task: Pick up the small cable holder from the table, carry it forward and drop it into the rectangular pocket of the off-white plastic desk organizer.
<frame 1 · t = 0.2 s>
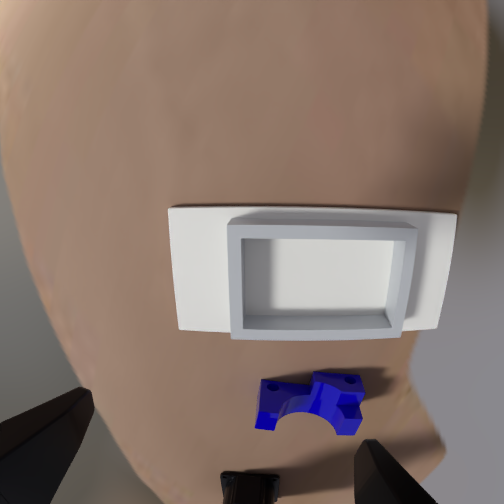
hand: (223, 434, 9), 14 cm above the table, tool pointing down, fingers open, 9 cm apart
desk organizer: (318, 272, 22), on the table
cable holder: (308, 384, 25), on the table
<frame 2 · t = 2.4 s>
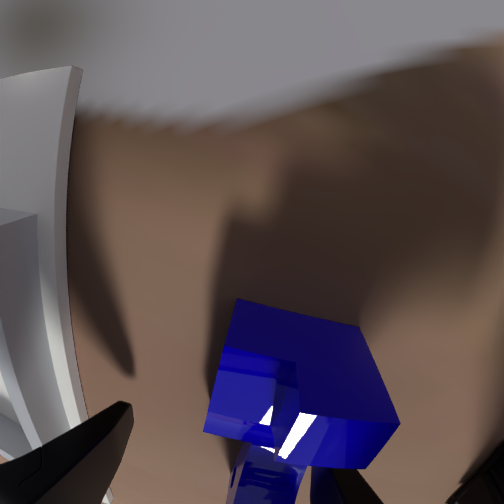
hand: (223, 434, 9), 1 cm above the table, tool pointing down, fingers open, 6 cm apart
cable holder: (262, 408, 10), on the table, touching gripper
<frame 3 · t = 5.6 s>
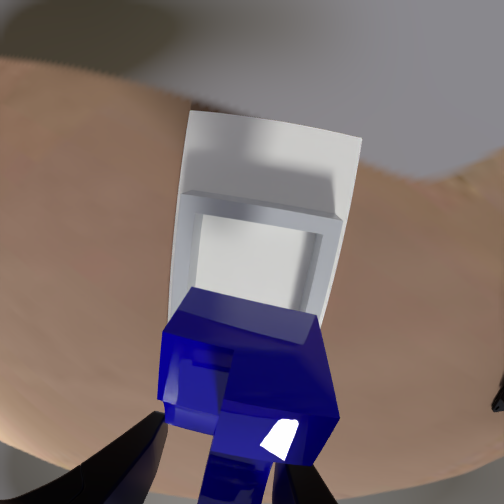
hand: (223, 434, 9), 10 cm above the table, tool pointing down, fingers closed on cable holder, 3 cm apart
desk organizer: (247, 298, 19), on the table
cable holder: (228, 401, 10), point 9 cm above the table, touching gripper
when the fingers open (3 cm above the table, at t = 7.8 s): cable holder drops 1 cm, resting on desk organizer.
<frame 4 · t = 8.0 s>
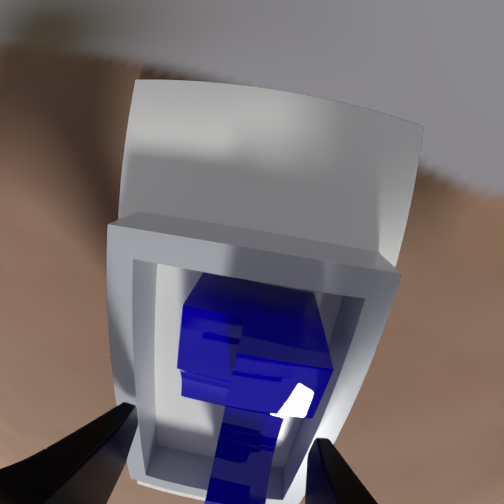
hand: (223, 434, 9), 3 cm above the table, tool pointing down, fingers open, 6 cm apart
desk organizer: (234, 374, 12), on the table
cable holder: (238, 377, 11), resting on desk organizer
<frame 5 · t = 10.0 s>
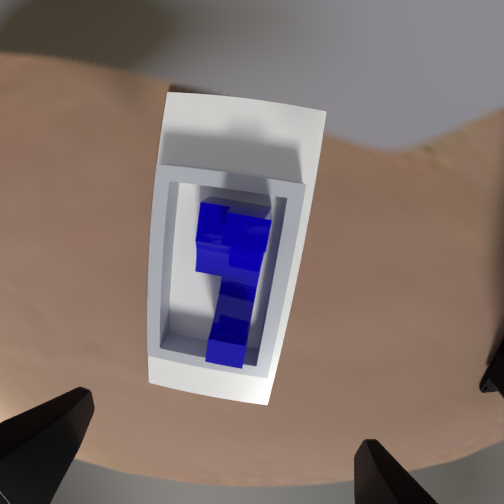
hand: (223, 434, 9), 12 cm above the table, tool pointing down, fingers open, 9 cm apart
desk organizer: (222, 266, 20), on the table
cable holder: (230, 267, 19), resting on desk organizer
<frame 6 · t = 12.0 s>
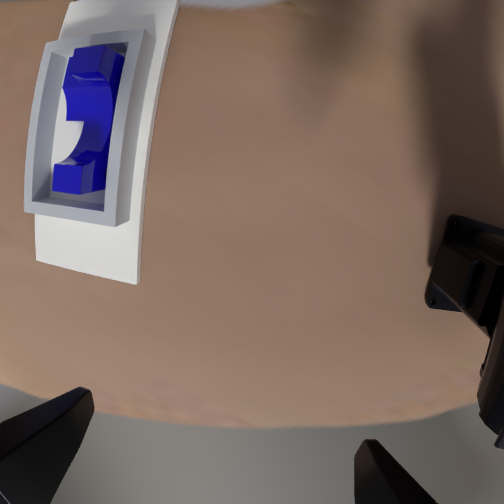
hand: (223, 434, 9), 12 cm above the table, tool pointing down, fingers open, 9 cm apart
desk organizer: (93, 126, 18), on the table
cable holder: (101, 123, 17), resting on desk organizer
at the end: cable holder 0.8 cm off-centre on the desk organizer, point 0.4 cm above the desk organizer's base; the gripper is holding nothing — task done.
